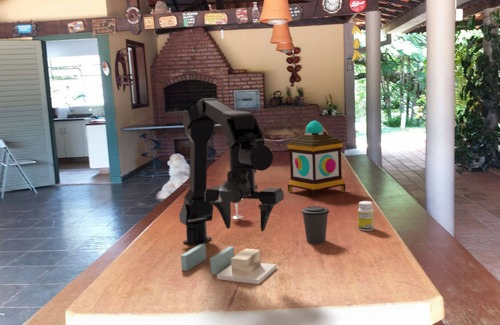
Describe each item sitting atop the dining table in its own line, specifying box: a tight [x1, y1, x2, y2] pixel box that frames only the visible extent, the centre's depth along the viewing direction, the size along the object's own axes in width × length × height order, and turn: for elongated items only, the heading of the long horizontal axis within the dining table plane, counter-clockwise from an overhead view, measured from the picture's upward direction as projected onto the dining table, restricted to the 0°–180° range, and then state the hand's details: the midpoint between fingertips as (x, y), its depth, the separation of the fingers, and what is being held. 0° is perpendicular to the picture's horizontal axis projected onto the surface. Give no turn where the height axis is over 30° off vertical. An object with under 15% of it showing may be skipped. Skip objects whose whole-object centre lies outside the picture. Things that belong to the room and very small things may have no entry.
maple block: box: [231, 248, 262, 276], centre depth 128 cm, size 8×4×4 cm, turn 154°
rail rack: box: [180, 243, 235, 276], centre depth 135 cm, size 10×10×4 cm
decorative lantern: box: [286, 120, 346, 199], centre depth 218 cm, size 20×20×30 cm
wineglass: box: [231, 198, 244, 220], centre depth 183 cm, size 6×6×12 cm
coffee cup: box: [300, 205, 330, 245], centre depth 151 cm, size 8×8×10 cm
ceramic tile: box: [216, 262, 278, 285], centre depth 128 cm, size 11×11×1 cm
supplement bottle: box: [357, 200, 375, 232], centre depth 161 cm, size 5×5×8 cm
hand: (245, 229), depth 127 cm, fingers open, 9 cm apart
